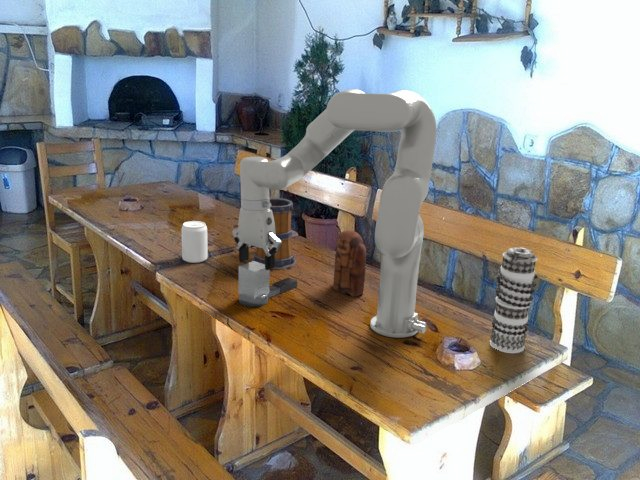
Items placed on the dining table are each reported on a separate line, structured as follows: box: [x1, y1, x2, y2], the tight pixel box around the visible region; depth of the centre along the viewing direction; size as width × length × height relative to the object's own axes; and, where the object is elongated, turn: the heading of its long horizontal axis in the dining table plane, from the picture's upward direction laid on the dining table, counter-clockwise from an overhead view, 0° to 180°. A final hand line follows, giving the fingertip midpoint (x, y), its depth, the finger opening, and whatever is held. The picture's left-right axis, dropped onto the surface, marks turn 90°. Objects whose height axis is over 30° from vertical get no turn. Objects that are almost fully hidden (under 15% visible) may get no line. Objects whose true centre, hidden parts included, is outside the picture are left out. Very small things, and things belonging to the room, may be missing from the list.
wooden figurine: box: [332, 229, 367, 297], centre depth 189 cm, size 12×6×18 cm, turn 42°
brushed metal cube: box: [238, 260, 271, 299], centre depth 179 cm, size 6×6×8 cm
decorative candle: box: [489, 246, 539, 354], centre depth 158 cm, size 9×9×25 cm
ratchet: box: [238, 276, 298, 308], centre depth 185 cm, size 8×21×6 cm, turn 142°
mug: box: [251, 197, 297, 270], centre depth 212 cm, size 19×14×20 cm
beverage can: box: [181, 220, 209, 264], centre depth 209 cm, size 8×8×12 cm
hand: (256, 264), depth 178 cm, fingers open, 9 cm apart
